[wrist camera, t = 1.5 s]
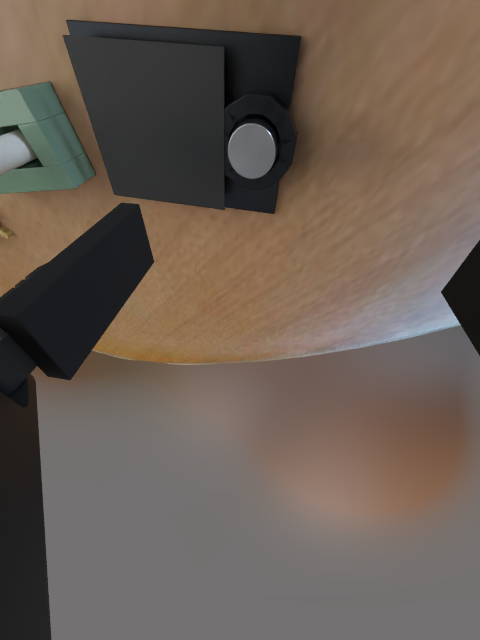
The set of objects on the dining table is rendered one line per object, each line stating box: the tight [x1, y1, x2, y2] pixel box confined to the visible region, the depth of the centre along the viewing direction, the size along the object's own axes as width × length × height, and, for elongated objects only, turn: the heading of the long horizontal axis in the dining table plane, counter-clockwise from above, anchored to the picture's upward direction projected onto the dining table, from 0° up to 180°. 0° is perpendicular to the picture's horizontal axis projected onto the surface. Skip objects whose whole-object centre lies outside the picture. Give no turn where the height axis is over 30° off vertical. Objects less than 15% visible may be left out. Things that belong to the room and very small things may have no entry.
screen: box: [63, 35, 225, 210], centre depth 23 cm, size 12×12×1 cm
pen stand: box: [0, 82, 96, 194], centre depth 26 cm, size 8×13×4 cm, turn 97°
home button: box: [228, 118, 278, 179], centre depth 22 cm, size 4×4×2 cm
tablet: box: [66, 20, 301, 214], centre depth 23 cm, size 19×13×2 cm
